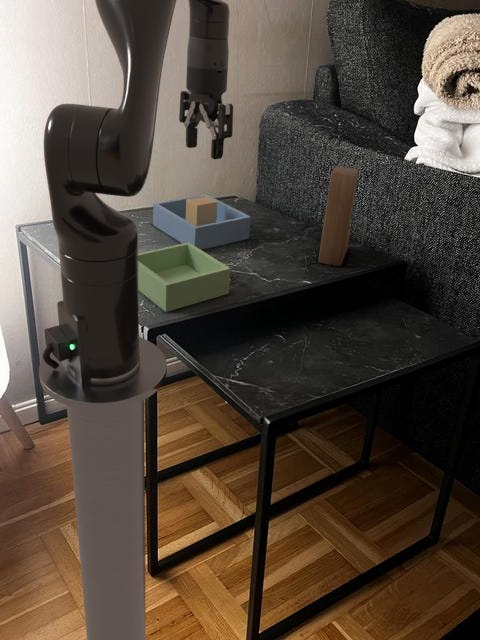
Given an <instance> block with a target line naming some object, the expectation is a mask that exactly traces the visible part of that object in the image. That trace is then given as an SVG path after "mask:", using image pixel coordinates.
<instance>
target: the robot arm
mask: <svg viewBox="0 0 480 640" xmlns="http://www.w3.org/2000/svg"><path fill="white" fill-rule="evenodd" d="M94 3H95V6H96V9H97V13H98V15H99V17H100V20H101V22H102V25H103V27H104V29H105V31H106V34H107V36H108V38H109V40H110V43H111V45H112V47H113V49H114V51H115V54H116V56H117V60H118V62H119V66H120V70H121V72H122V81H123V82H122V83H123V85H122V86H123V87H122V98H121V101H120V105H119V107H118V108H115V107H114V108H113V107H108V106H107V107H106V106H98V105H97V106H96V105H88V104H87V105H86V104H79V103H62V104H58V105H56V106H55V107H54V108H53V109H52V110H51V111H50V113H49V115H48V116H47V119H46V122H45V126H44V131H43V132H44V133H43V160H44V167H45V168H44V169H45V174H46V176H45V177H46V181H47V188H48V194H49V203H50V210H51V211H50V212H51V219H52V225H53V228H54V231H55V234H56V237H57V242H58V243H57V244H58V254H59V267H60V280H61V291H62V292H61V293H62V300H60V301H58V302H57V303H56V306H57V318H58V325H55V326H50V327H47V328H44V330H43V333H44V342H45V348H44V350H43V353H42V359H44V361H45V362H46V363H47V364H48V365H49V366H51V367H53V368H54V369H56V368H58V367H59V364H58V363H57V362H56V361H54V360H53V359H51V358H50V354H51V353H52V354H53V355H54V356H55V357H56V358H57V360H58V361H59V362H60V361H62V365H63V366H64V367H65V368H66V369H67V370H68V372H69V373H70V375H71V376H72V377H73V378H75V380H76V381H77V382H78V383H79V384H80V385H81V386H82V387H85V386H88V385H111V384H116V383H120V382H122V381H125V380H127V379H129V378H131V377H132V376H133V375H134V374H135V373H136V372H137V371H138V369H139V367H140V355H139V337H140V317H139V316H140V314H139V312H140V311H139V310H140V309H139V307H140V305H139V303H140V301H139V290H138V253H139V234H138V227H137V225H136V223H135V222H134V220H132V219H131V218H130V217H129V216H127V215H126V214H124V213H122V212H120V211H118V210H117V209H115V208H113V207H112V206H110V205H108V204H107V203H106V202H105V201H104V200H102V199H101V198H100V197H99V196H98V195H99V194H100V195H107V196H117V197H123V198H124V197H126V198H130V197H131V198H132V197H135V196H137V195H138V194H139V193H140V192H141V191H142V189H143V187H144V185H145V184H146V181H147V179H148V175H149V171H150V166H151V162H152V155H153V148H154V139H155V130H156V121H157V114H158V113H157V112H158V105H159V94H160V88H161V80H162V71H163V65H164V59H165V54H166V49H167V45H168V40H169V34H170V30H171V26H172V21H173V16H174V12H175V8H176V3H177V0H94ZM188 8H189V9H188V10H189V16H188V17H189V23H188V42H187V48H186V75H185V76H186V77H185V78H186V81H185V83H186V84H185V88H186V90H181V91H180V97H179V115H178V116H179V117H178V120H179V123H183V126H184V128H185V146H186V148H188V149H193V148H197V147H198V131H199V130H198V126H199V124H200V122H202V123H204V124H205V126H206V128H207V129H208V130H209V131H210V134H211V135H210V136H211V137H212V139H211V144H210V145H211V147H210V148H211V150H210V158H211V159H212V160H221V159H222V158H223V156H224V146H225V145H224V144H225V139H228V138H229V139H230V138H232V137H233V132H234V131H233V125H234V105H233V104H232V103H223V99H222V98H223V97H222V96H223V94H225V93H226V92H227V90H228V73H229V72H228V71H229V57H230V56H229V55H230V50H229V33H230V15H231V13H230V5H229V3H228V2H226V1H224V0H188ZM186 111H187V113H186ZM225 126H226V129H225ZM97 194H98V195H97Z"/></svg>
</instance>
